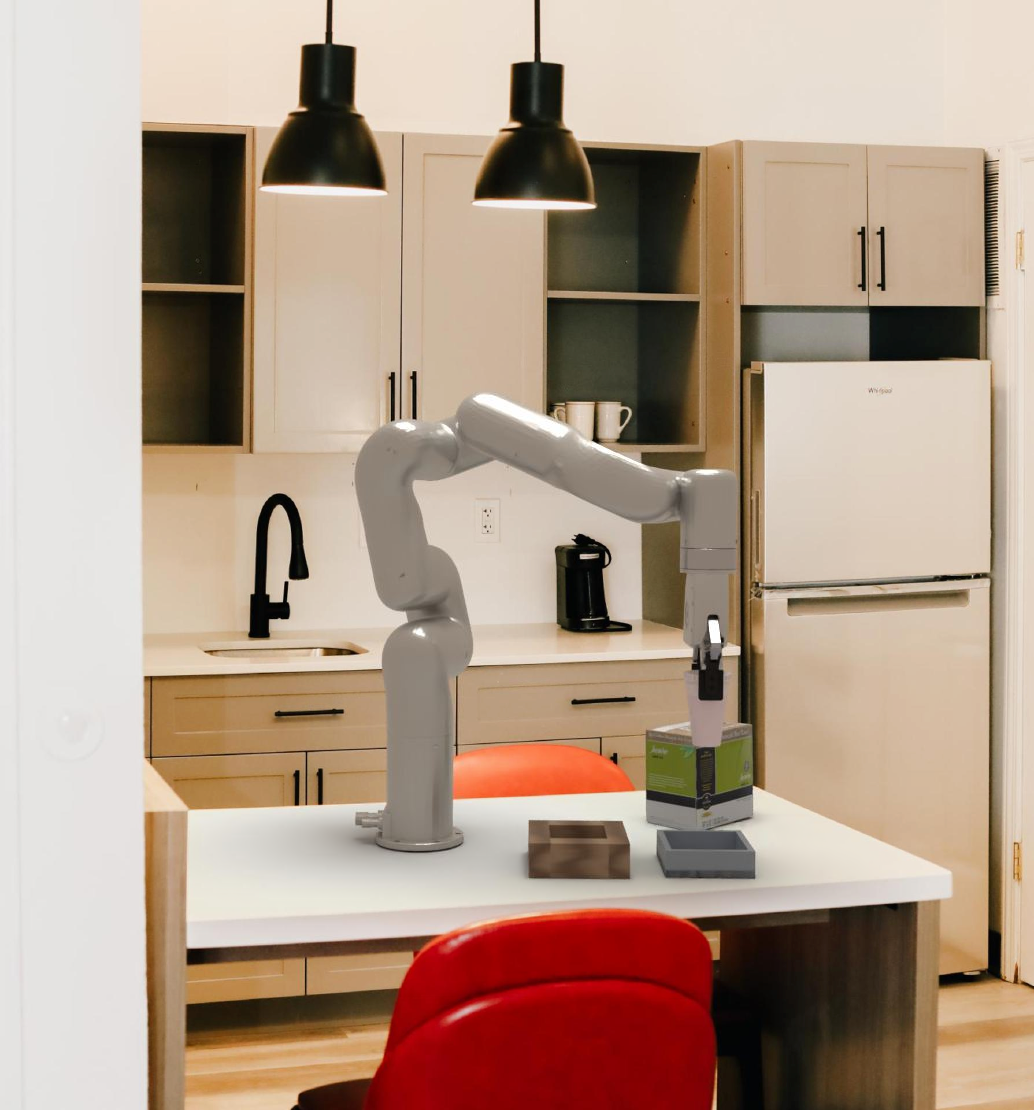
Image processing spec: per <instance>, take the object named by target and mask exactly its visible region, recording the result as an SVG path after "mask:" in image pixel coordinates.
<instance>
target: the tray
mask: <svg viewBox="0 0 1034 1110" xmlns="http://www.w3.org/2000/svg"><path fill="white" fill-rule="evenodd" d="M655 848H656V851H655V852H656V857H657V860H658V862H659V865H660V867H661V869H662V872H663V874H664V876H665V878H671V877H710V878H709V879H755V878H756V850H755V849H754V847H753V845H752V844H751V843H750V841H749V840H748V838H747V837H746V836H745V835H744V833H743V832H742V830H741V829H705V830H680V829H656V847H655ZM714 877H716V878H714ZM719 877H721V878H719Z"/></svg>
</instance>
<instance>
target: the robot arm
mask: <svg viewBox="0 0 1034 1110" xmlns="http://www.w3.org/2000/svg"><path fill="white" fill-rule="evenodd" d="M494 461H498V462H500V463H503V464H505V465H507V466H509V467H512V468H514V469H516V470H518V471H521V472H523V473H525V474H527V475H529V476H531V477H534V478H535V479H538V480H540V481H542V482H544V483H546V484H549V485H550V486H552V487H554V488H556V489H558V490H562V491H564V492H565V493H566V492H567V493H568V494H569V495H570V494H571V495H573V496H574V497H576V498H579V499H580V500H583V501H585V502H587V503H589V504H591V505H593V506H595V507H598V508H600V509H602V510H605V511H606V512H609V513H611V514H613V515H616V516H618V517H620V518H622V519H624V520H627V521H630V522H633V523H636V524H643V525H644V524H645V525H646V524H664V523H671V522H678V521H680V524H679V525H680V527H679V528H680V532H679V534H680V539H679V541H680V543H679V545H680V548H679V555H680V556H679V573H681V574H686V578H685V589H684V604H683V606H684V607H683V608H684V609H683V611H684V612H683V628H682V631H683V632H682V640H683V642H684V643H685V644H686V645H687V646H689V647H690V648H691V649H692V656H691V657H692V662H691V669H690V670H699V672H698V698H699V700H701V701H721V700H723V677H724V659H723V649H725V648H726V647H727V645H728V642H729V623H730V611H729V610H730V601H729V600H730V588H729V587H730V585H729V584H730V583H729V581H730V579H729V575H732V574H733V575H734V574H737V573H738V570H737V569H738V512H739V511H738V507H739V506H738V503H739V502H738V501H739V497H738V496H739V495H738V494H739V484H738V483H739V482H738V476H737V475H736V473H735V472H734V471H732V470H730V469H724V468H722V469H721V468H720V469H719V468H697V469H696V468H693V469H689V470H687V471H679V470H671V469H666V468H659V467H654V466H649V465H646V464H644V463H641V462H639V461H636V460H634V459H632V458H629V457H627V456H625V455H622V454H621V453H618V452H615V451H613V450H611V449H609V448H607V447H605V446H603V445H601V444H598V443H597V442H595V441H593V440H591V439H590V438H588V437H587V436H586V435H584V433H582V432H581V430H579V429H578V428H577V427H575V426H574V425H571V424H569V423H567V422H564V421H561V420H559V419H556V418H554V417H553V416H550V415H547V414H546V413H545V414H544V413H542V412H540V411H537V410H536V409H533V408H531V407H529V406H526V405H525V404H522V403H520V402H519V401H518V400H517V399H515V398H514V397H510V396H508V395H504V394H500V393H497V392H493V391H488V390H487V391H486V390H485V391H484V390H482V391H477V392H474V393H471V394H470V395H468V396H466V397H465V398H464V399H463V401H461V402H460V404H459V405H458V407H457V410H456V413H455V415H452V416H450V417H446V418H443V419H440V420H437V421H435V422H428V421H424V420H421V419H420V420H418V419H413V418H412V419H411V418H403V419H396V420H392V421H390V422H387V423H386V424H383V425H381V426H380V427H379V428H378V429H376V430H375V431H374V432H372V434H371V435H370V436H369V437H368V438H367V439H366V441H365V442H364V443H363V444H362V447H361V448H360V451H359V453H358V456H357V458H356V462H355V469H354V487H355V493H356V498H357V502H358V503H357V504H358V507H359V511H360V516H361V519H362V524H363V529H364V536H365V542H366V546H367V547H366V548H367V551H368V557H369V560H370V561H369V562H370V565H371V566H370V567H371V571H372V578H373V582H374V587H375V591H376V594H377V597H378V598H379V600H380V602H381V603H382V604H383V605H384V606H385V607H386V608H388V609H390V610H392V611H395V612H402V613H403V612H405V614H406V619H407V622H405V623H403V624H401V625H399V626H398V627H397V628H395V629H394V630H393V631H392V632H391V633H389V635H388V638H387V639H386V641H385V643H384V646H383V648H382V654H381V673H382V678H383V685H384V693H385V694H384V695H385V706H386V708H385V710H386V714H385V715H386V717H385V718H386V728H385V731H386V802H385V803H386V804H385V806H384V809H382V810H381V809H379V810H377V812H369V811H355V816H354V818H355V819H354V823H355V826H361V828H363V829H365V828H369V829H371V828H378V830H377V831H375V834H374V841H375V843H376V844H377V845H379V846H381V847H383V848H386V849H391V850H397V851H405V852H429V851H440V850H447V849H450V848H455V847H457V846H459V845H460V844H462V843H463V842H464V837H465V836H464V832H463V831H462V830H461V829H460V828H458V827H455V826H454V708H453V698H452V694H451V688H450V680H451V679H453V678H455V677H457V676H459V675H461V674H462V673H463V672H464V671H465V670H466V669H467V668H468V667H469V665H470V662H471V661H472V658H473V653H474V639H473V638H474V637H473V632H472V627H471V623H470V618H469V613H468V607H467V603H466V599H465V594H464V589H463V585H462V581H461V576H460V572H459V570H458V567H457V565H456V563H455V562H454V560H453V558H451V556H450V555H449V554H448V553H447V552H446V551H444V550H443V549H442V548H440V547H438V546H435V545H433V544H429V541H428V539H427V533H426V529H425V525H424V519H423V514H422V510H421V507H420V505H419V502H418V500H417V497H416V495H415V492H414V489H413V487H414V486H413V484H414V481H428V482H433V481H434V482H436V481H441V480H445V479H449V478H452V477H453V476H457V475H460V474H463V473H465V472H467V471H470V470H473V469H475V468H478V467H480V466H483V465H487V464H489V463H492V462H494Z"/></svg>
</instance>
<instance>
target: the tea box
mask: <svg viewBox="0 0 1034 1110" xmlns="http://www.w3.org/2000/svg"><path fill="white" fill-rule="evenodd" d="M753 749H754V747H753V724H751V723H742V722H734V721H727V720H724V723H723V730H722V737H721V745H720V746H718V747H699V746H694V745H693V744H692V734H691V725H690V720H686V721H682V722H676V723H671V724H667V725H661V726H656V727H651V728H647V729H646V728H645V818H646V819H645V820H646V822H647V824H653V825H656V826H657V825H658V826H661V827H667V828H671V829H675V830H710V829H711V828H716V827H719V826H722V825H725V824H729V823H733V822H735V821H739V820H742V819H746V818H750V817H753V816H754V793H753V792H754V773H753V772H754V766H753V765H754V760H753V758H754V756H753V753H754V752H753Z"/></svg>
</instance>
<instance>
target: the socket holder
mask: <svg viewBox="0 0 1034 1110" xmlns="http://www.w3.org/2000/svg"><path fill="white" fill-rule="evenodd" d="M527 827H528V830H527V831H528V835H527V837H528V838H527V839H528V840H527V841H528V844H527V846H528V848H527V854H528V856H527V857H528V859H527V860H528V878H529V879H532V878H533V879H610V880H611V879H612V880H614V879H624V880H625V879H627V880H628V879H631V875H630V873H631V843H630V840H629V836H628V832H627V831H626V830H627V829H626V827H625V825H624V822H623V820H583V819H582V820H574V819H573V820H568V819H566V820H565V819H564V820H563V819H562V820H561V819H560V820H557V819H554V820H553V819H528V826H527Z"/></svg>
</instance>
